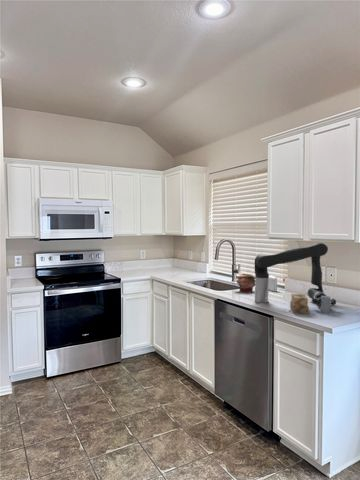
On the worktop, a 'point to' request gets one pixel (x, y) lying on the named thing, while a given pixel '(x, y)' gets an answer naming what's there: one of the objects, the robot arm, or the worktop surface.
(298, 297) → the block upper
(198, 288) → the worktop surface
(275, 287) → the photo printer
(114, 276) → the worktop surface
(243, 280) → the decorative planter
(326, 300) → the tall block
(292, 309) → the block lower
